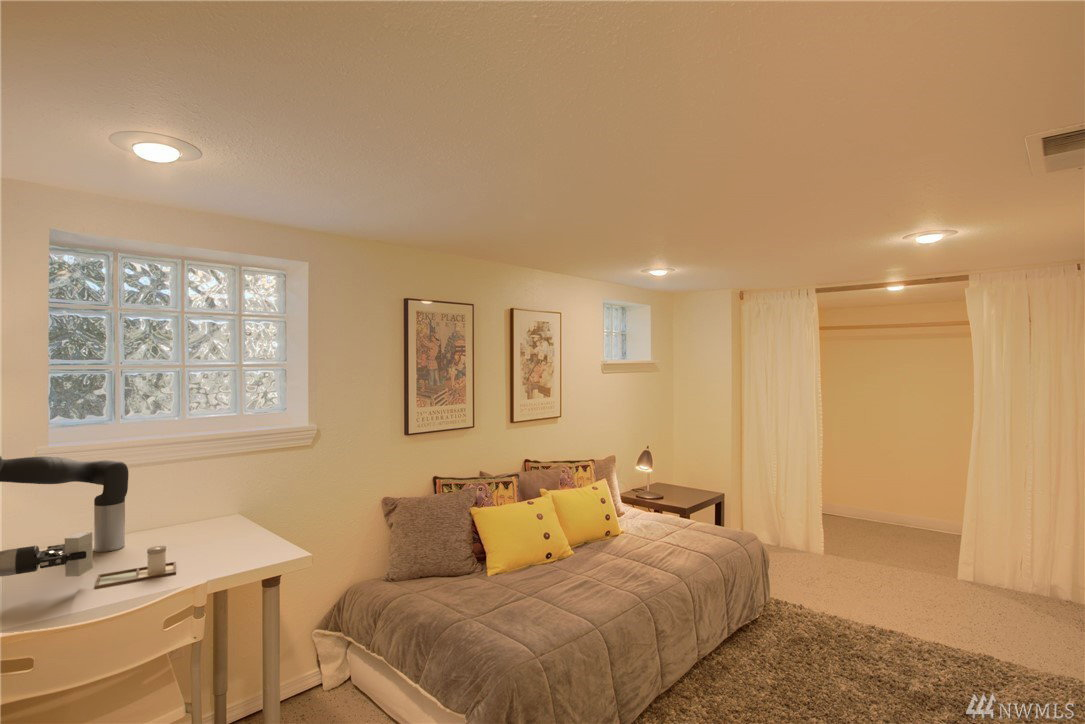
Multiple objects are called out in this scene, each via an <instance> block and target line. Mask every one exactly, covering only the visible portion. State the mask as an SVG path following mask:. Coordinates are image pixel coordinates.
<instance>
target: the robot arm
mask: <svg viewBox="0 0 1085 724" xmlns="http://www.w3.org/2000/svg"><path fill="white" fill-rule="evenodd" d="M73 482H77V483H88V484H94V485H99V486H103V488H102V493H101V494H99V495H96V496H95V498H94V503H93V506H94V507H93V508H94V509H93V512H94V514H93V515H94V517H93V518H94V521H93V526H94V527H93V529H94V530H93V538H94V540H93V547H94V548H93V552H96V553H97V552H98V553H103V552H104V553H105V552H112V551H116V550H119V549H122V548H124V547H125V546H126V541H125V540H126V539H125V538H126V496H127V494H128V489H129V468H128V465H127V464H126V463H125V462H123V461H120V460H119V461H118V460H107V459H106V460H90V461H89V460H87V461H83V460H82V461H79V460H75V459H74V460H73V459H70V458H66V457H57V456H28V457H18V458H9V459H8V458H7V459H3V458H2V456H1V455H0V483H14V484H15V483H16V484H31V485H32V484H34V485H35V484H36V485H61V484H67V483H73ZM86 556H87V555H86V551H80V552H74V553H71V554H70V553H65V543H62V544H56V545H49V546H47V549H45V550H41V551H40V548H39V546H38V545H30V546H24V547H18V548H17V547H15V548H8V549H4V550H1V551H0V578H1V577H8V576H15V575H21V574H26V573H27V574H28V573H34V572H36V571H38V569H47V568H52V567H58V566H64V565H65V564H66V562H70V560H71V561H72V560H79V559H85V558H86Z"/></svg>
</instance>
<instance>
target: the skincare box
mask: <svg viewBox="0 0 1085 724" xmlns="http://www.w3.org/2000/svg"><path fill="white" fill-rule="evenodd" d="M64 544H65V553H70V554H71V553H74V552H80V551H86V555H87V556H86V558H85V559H79V560H72V561H71V560H70V562H66V564H65V566H64V568H65V569H64V570H65V572H64V574H65V577H80V576H82V575H83V574H86V573H87V572H89V571H90V570H92V569H94V557H93V556H94V555H93V552H94V548H93V547H94V546H93V531H77V532H75V533H73V534H71V535H69V536H67V537H65V538H64Z"/></svg>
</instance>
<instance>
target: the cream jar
mask: <svg viewBox="0 0 1085 724" xmlns="http://www.w3.org/2000/svg"><path fill="white" fill-rule="evenodd" d="M146 552H147V566H148V575H157V574H161V573H164V572H165V571H166V563H167V560H166V559H167V557H166V555H167V553H166V552H167V546H166V545H155V546H151V547H149V548H147V549H146Z"/></svg>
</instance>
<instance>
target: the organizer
mask: <svg viewBox="0 0 1085 724" xmlns="http://www.w3.org/2000/svg"><path fill="white" fill-rule="evenodd" d="M176 565H177V564H176V561H171V562H166V571H165V572H164V573H161V574H157V575H148V565H147V566H141V567H136V568H130V569H123V570H118V571H112V572H106V573H100V574H98V575H97V579H96V582H95V585H94V589H101V588H107V587H111V586H112V587H113V586H119V585H123V584H124V585H125V584H129V583H134V582H141V581H146V580H151V579H157V578H162V577H163V578H164V577H167V576H175V575H177V571H176V570H177V569H176V568H177V567H176Z"/></svg>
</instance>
